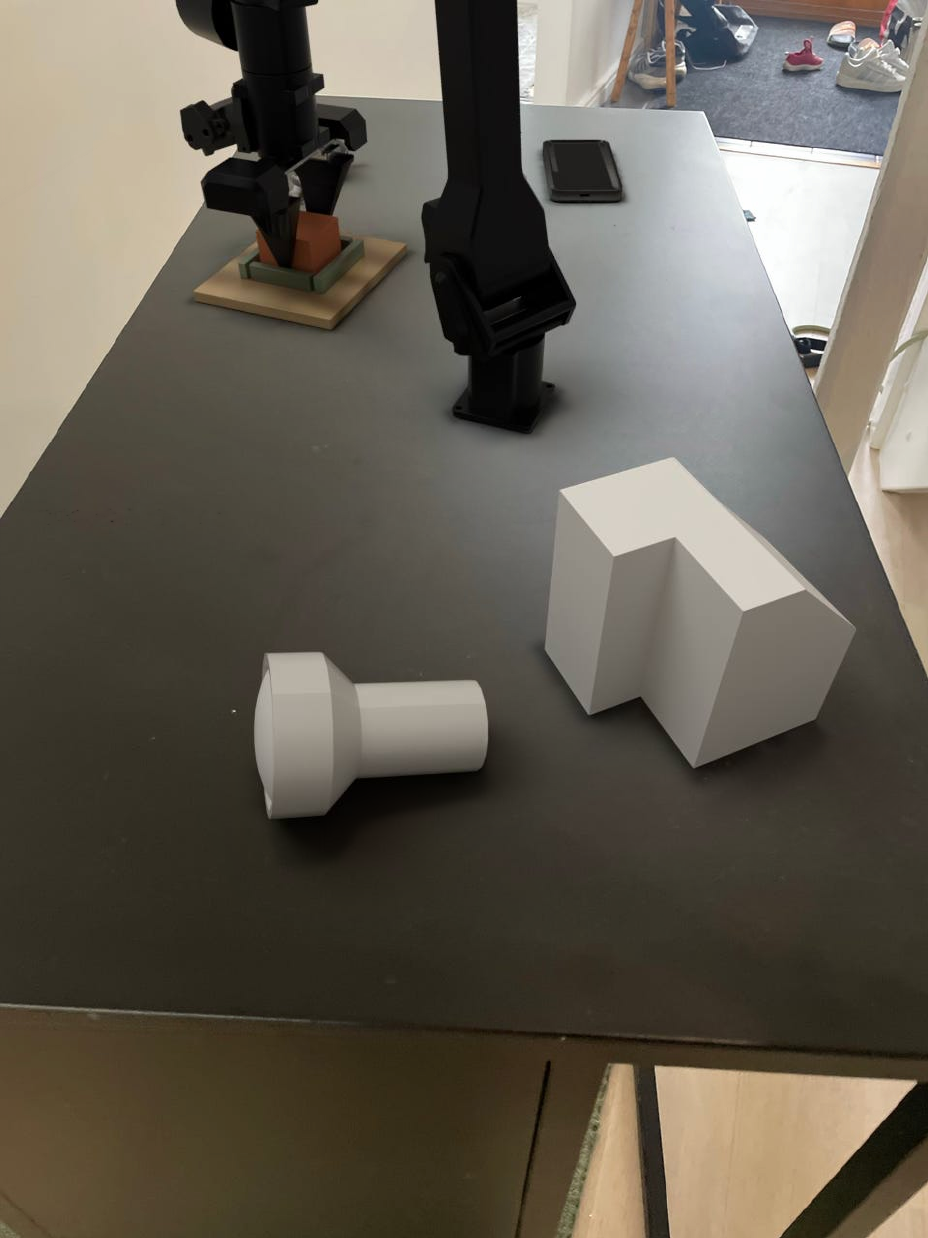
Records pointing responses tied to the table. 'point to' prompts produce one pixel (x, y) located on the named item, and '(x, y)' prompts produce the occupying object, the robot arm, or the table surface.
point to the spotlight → (356, 731)
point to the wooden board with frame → (303, 283)
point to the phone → (581, 171)
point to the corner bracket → (685, 613)
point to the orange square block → (309, 243)
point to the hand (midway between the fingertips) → (302, 253)
